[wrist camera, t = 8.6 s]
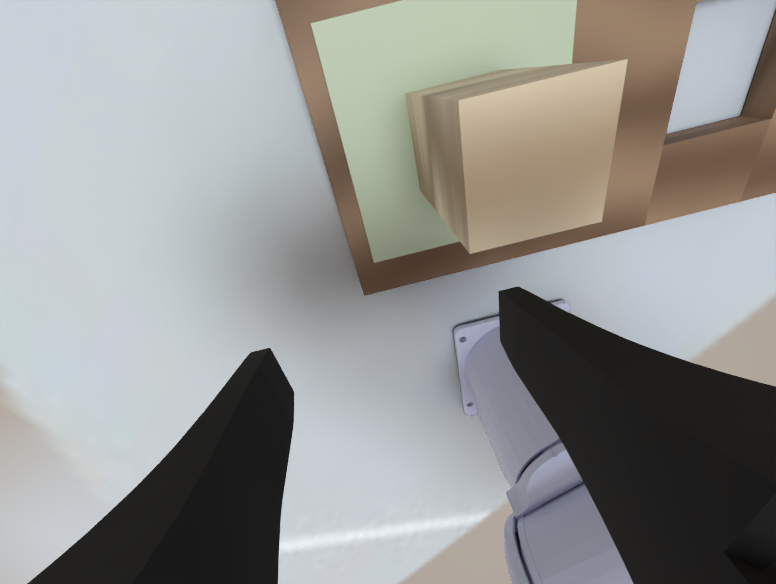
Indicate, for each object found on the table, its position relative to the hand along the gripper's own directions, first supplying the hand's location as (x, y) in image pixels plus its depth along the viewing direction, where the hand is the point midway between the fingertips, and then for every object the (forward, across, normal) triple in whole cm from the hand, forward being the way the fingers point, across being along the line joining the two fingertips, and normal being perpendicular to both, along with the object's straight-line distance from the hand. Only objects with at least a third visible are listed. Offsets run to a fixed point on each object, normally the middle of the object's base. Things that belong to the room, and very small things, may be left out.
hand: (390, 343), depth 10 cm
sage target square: (+8, -5, -4) cm, 10 cm away
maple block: (+8, -5, -4) cm, 10 cm away
